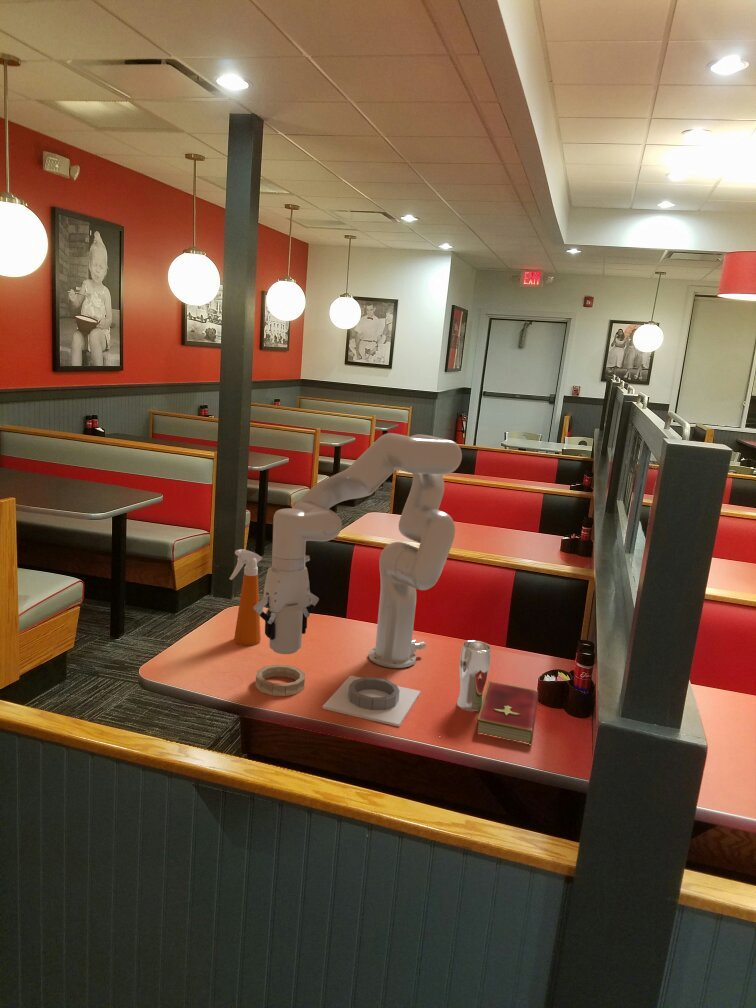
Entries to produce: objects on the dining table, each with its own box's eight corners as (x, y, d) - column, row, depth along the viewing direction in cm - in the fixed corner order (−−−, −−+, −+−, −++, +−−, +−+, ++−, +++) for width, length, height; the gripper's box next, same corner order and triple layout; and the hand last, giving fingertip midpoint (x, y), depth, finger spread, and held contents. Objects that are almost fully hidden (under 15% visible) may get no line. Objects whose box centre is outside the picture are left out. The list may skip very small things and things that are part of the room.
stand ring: (290, 671, 180) (291, 661, 180) (312, 690, 171) (313, 680, 170) (248, 679, 174) (248, 669, 173) (268, 699, 165) (269, 689, 164)
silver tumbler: (465, 696, 175) (472, 637, 172) (490, 706, 171) (497, 646, 168) (449, 705, 170) (455, 644, 167) (474, 716, 165) (481, 654, 162)
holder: (350, 677, 179) (351, 666, 179) (420, 693, 174) (421, 681, 174) (322, 708, 163) (323, 695, 162) (399, 726, 157) (400, 713, 157)
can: (295, 657, 167) (297, 608, 164) (264, 653, 168) (266, 604, 166) (305, 645, 174) (307, 597, 171) (275, 641, 175) (277, 593, 173)
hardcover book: (536, 705, 174) (538, 689, 173) (531, 748, 154) (533, 729, 153) (486, 695, 177) (488, 679, 176) (475, 736, 157) (477, 718, 156)
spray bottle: (217, 643, 193) (222, 548, 188) (248, 633, 202) (252, 542, 196) (235, 651, 189) (240, 554, 184) (266, 641, 197) (271, 547, 192)
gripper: (314, 554, 174) (310, 623, 178) (246, 562, 165) (244, 635, 169) (329, 562, 168) (326, 634, 172) (260, 571, 159) (258, 647, 162)
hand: (285, 634), depth 170 cm, fingers closed on can, 7 cm apart
